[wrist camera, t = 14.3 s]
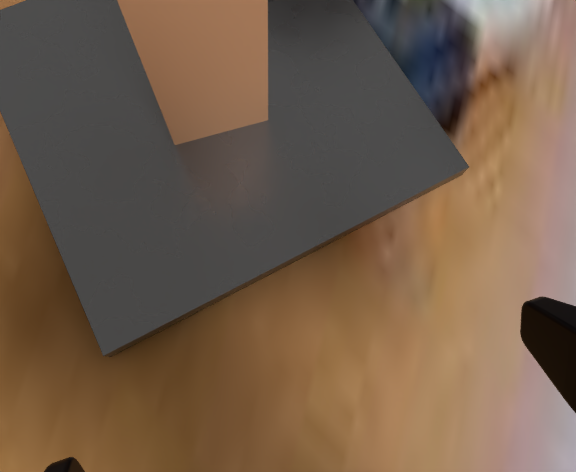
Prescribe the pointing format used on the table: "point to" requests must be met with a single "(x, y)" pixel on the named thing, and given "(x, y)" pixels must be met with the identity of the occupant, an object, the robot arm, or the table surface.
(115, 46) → the plate
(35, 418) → the table surface
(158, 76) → the sleeve
